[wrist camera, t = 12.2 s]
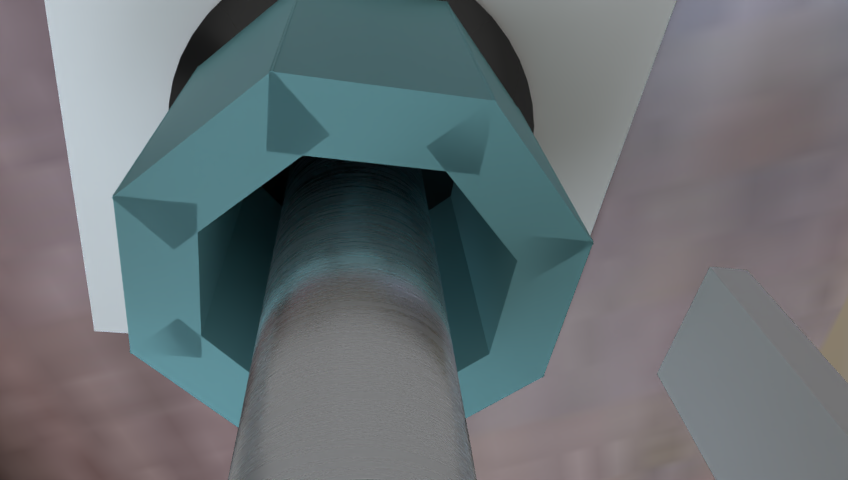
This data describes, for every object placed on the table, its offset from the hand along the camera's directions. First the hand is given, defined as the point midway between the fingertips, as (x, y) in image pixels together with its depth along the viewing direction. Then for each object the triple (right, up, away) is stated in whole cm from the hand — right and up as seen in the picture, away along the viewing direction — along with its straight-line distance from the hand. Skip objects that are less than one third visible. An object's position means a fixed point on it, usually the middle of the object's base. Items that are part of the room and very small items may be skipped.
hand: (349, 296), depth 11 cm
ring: (0, +3, +5) cm, 6 cm away
